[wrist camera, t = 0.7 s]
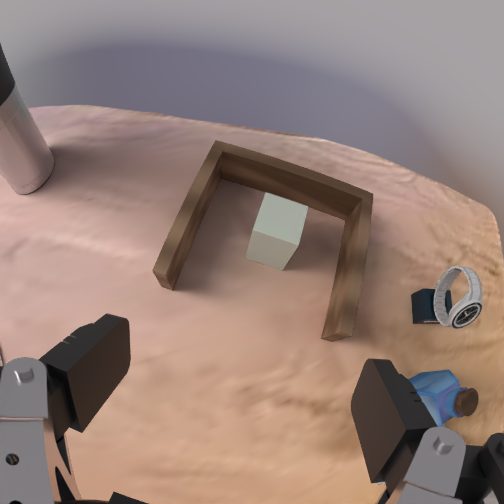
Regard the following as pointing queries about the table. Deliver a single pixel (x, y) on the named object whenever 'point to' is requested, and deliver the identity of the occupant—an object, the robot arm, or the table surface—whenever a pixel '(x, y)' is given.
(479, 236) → the table surface
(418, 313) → the watch
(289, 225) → the sage block
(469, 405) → the perfume bottle
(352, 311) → the walnut u-shaped frame
